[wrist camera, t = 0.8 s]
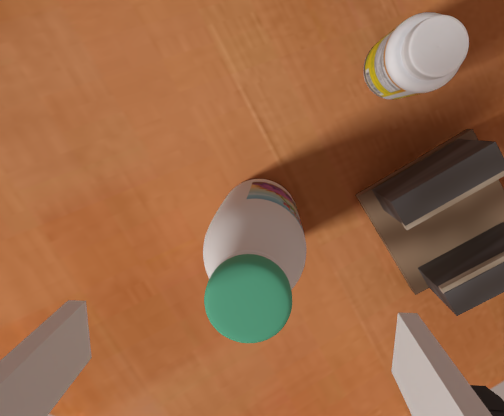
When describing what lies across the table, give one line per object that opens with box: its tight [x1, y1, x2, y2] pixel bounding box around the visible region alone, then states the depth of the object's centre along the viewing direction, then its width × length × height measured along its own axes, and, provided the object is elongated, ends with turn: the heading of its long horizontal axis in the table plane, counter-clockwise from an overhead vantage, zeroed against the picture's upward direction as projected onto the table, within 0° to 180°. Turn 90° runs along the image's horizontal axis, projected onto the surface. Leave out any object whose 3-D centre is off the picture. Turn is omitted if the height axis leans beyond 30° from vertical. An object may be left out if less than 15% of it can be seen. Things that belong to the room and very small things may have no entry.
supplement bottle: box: [364, 12, 469, 99], centre depth 30 cm, size 6×6×10 cm
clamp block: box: [356, 129, 504, 316], centre depth 34 cm, size 12×12×7 cm
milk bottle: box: [203, 179, 306, 343], centre depth 29 cm, size 8×8×20 cm
